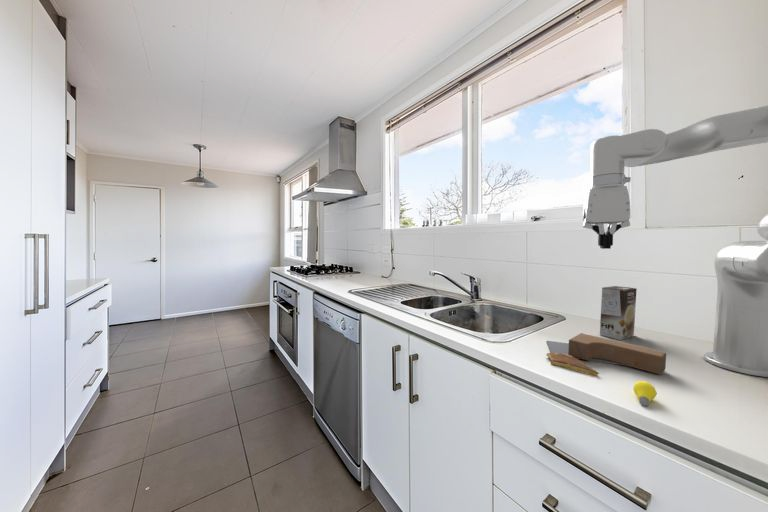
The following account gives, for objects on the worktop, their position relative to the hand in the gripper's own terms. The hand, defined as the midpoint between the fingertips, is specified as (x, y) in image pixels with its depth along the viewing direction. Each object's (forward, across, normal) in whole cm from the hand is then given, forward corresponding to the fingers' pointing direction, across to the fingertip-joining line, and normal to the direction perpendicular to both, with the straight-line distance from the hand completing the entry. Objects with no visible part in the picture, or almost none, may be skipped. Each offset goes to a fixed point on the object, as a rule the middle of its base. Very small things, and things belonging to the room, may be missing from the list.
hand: (605, 248), depth 81 cm
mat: (+30, +2, +4) cm, 30 cm away
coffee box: (+30, -8, -17) cm, 35 cm away
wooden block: (+27, +8, +5) cm, 29 cm away
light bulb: (+30, +1, +28) cm, 41 cm away
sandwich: (+30, +10, +14) cm, 35 cm away
